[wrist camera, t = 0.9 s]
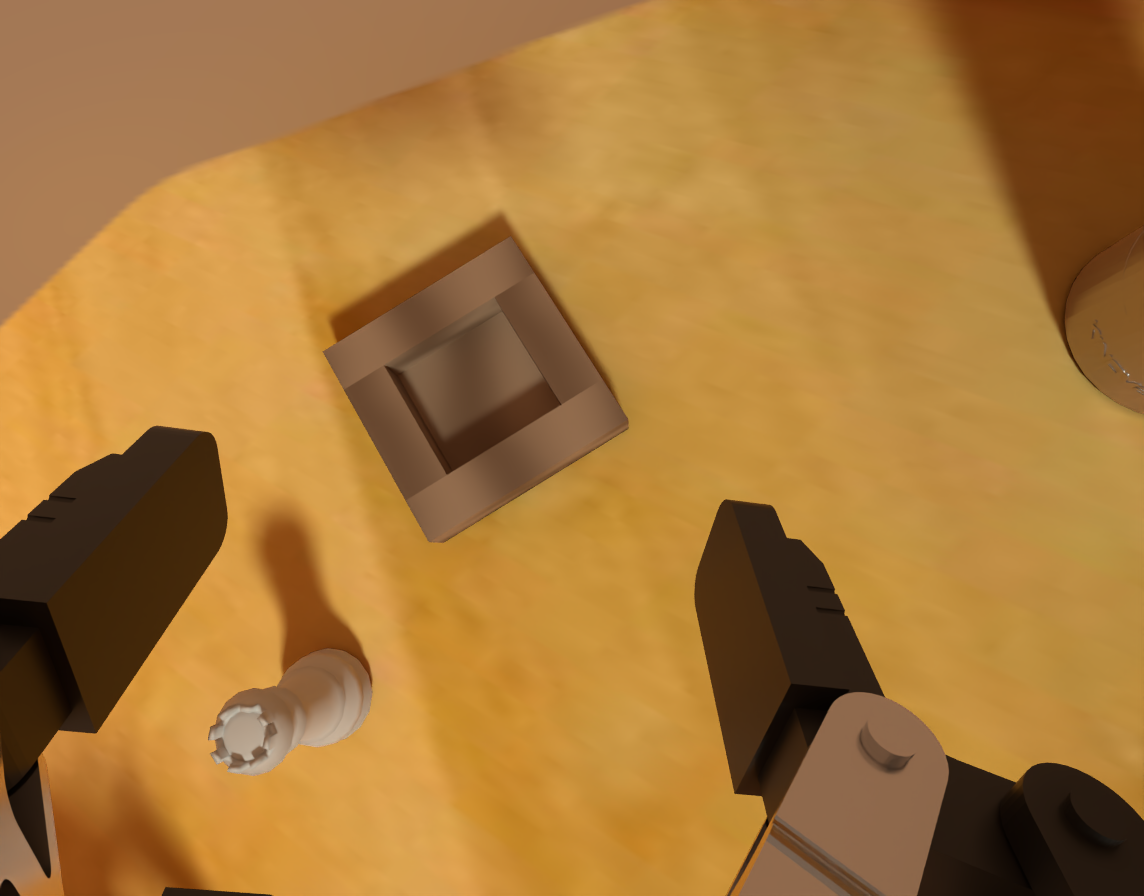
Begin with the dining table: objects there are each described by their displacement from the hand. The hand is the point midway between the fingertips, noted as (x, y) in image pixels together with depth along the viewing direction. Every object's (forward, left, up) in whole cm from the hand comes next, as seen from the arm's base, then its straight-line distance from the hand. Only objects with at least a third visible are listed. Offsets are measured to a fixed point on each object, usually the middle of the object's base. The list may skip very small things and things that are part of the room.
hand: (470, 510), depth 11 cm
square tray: (+1, -9, -23) cm, 24 cm away
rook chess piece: (+15, 0, -23) cm, 27 cm away
